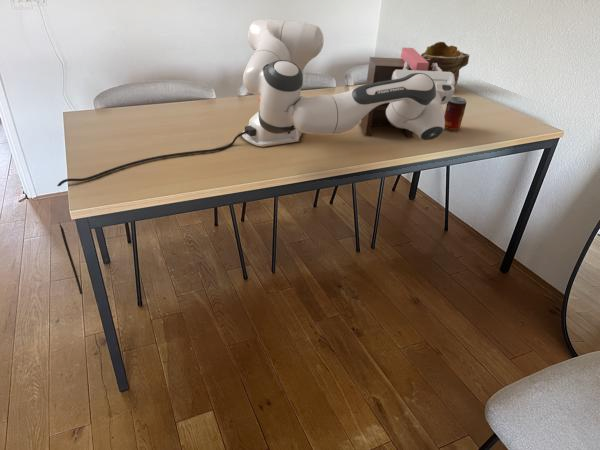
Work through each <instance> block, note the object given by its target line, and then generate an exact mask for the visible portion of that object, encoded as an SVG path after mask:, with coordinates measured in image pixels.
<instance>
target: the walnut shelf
mask: <svg viewBox="0 0 600 450" xmlns="http://www.w3.org/2000/svg"><path fill="white" fill-rule="evenodd" d="M404 63H405V61H404V60H403V59H402V58H401V57H400V58H398V57H379V56H377V57H375V56H369V61H368V69H367V75H366V84H371V83H376V82H382V81H388V80H392V75H393V72H394V71H395V70H403V68H404ZM407 70H412V69H411V68H410V67H409V69H407ZM366 84H365V85H366ZM389 104H390V103H384V104H381V105H379V106H377V107H375V108H374V109H372V110H371V111H370V112H369V113H368V114H366V115H365V116H364V117H363V118H362V120H361V121H360V125H361V128H362V130H363V133H364V135H365V136H366V137H369V136H371V130H372V126H382V127H383V126H384V127H394V126H393V125H391V124H390V122H389V121H388V119H387V117H386V108H387V107H388V105H389ZM402 130H403V132H405V135H406V136H407V137H408V138H413V134H414V132H412V131H410V130H407V129H402Z"/></svg>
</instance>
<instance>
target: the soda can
mask: <svg viewBox="0 0 600 450" xmlns="http://www.w3.org/2000/svg"><path fill="white" fill-rule="evenodd" d="M467 103H468V101H467V100H466V98H463V97H460V96H452V97H451V99H450V100H449V102H448V103H446V107H445V111H444V118H445V128H444V131H448V132H457V131H458V130H459V128H461V126H462V122H463V117H464V115H465V111H466V107H467Z"/></svg>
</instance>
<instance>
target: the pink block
mask: <svg viewBox="0 0 600 450" xmlns="http://www.w3.org/2000/svg"><path fill="white" fill-rule="evenodd" d="M400 58H401V59H403V60H404V61H405V62H410V63H409V64H410V68H411V69H412V70H419V71H428V66H429V63H428V62H427V61H426V60H425V59H424V58H423V57H422V56H421V54H420V53H419V52H418V51H417V50H415V48H413V47H401V54H400Z"/></svg>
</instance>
